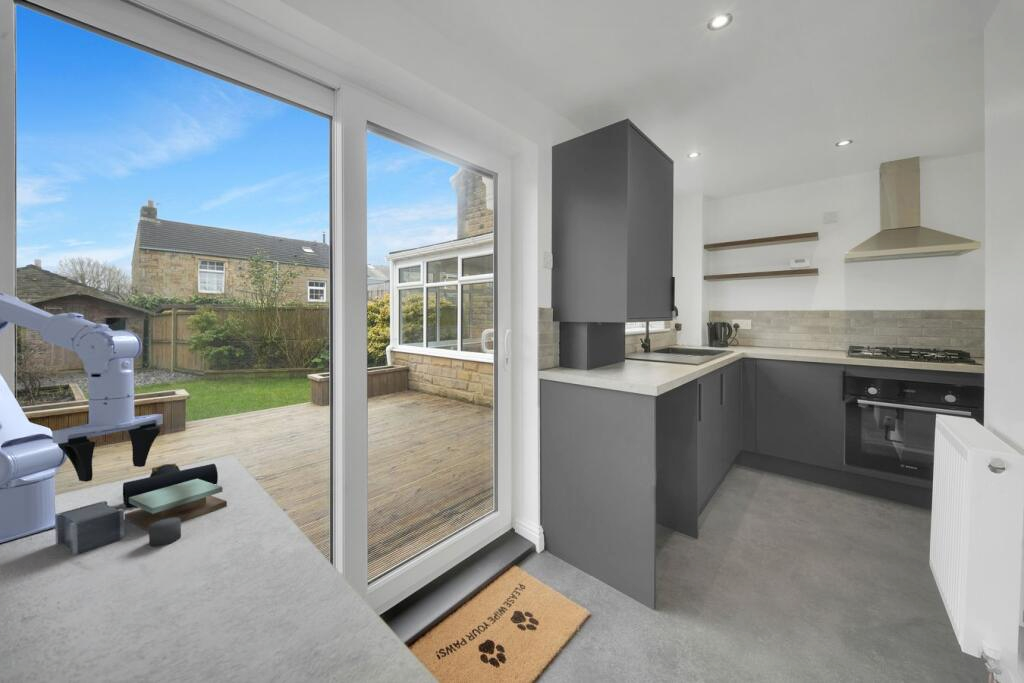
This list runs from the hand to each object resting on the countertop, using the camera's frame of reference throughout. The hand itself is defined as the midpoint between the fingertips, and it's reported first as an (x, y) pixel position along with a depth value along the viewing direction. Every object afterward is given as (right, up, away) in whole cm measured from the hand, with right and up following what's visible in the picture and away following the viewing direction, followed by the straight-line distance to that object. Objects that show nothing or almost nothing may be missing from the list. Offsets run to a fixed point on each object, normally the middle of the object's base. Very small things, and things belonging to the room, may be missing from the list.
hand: (113, 472), depth 70 cm
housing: (0, -10, -4) cm, 11 cm away
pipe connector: (-5, -10, +17) cm, 21 cm away
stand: (+6, -10, +6) cm, 13 cm away
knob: (+13, -10, -4) cm, 17 cm away
